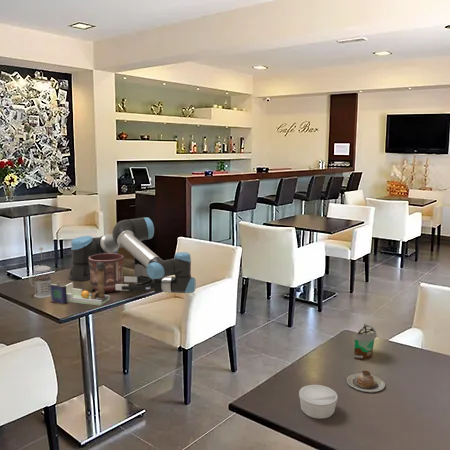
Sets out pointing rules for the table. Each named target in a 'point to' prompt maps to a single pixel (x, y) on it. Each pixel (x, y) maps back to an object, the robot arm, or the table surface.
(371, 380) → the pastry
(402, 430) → the table surface
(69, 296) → the pale green tray
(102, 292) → the kicker
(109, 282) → the pottery
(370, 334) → the food container
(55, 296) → the flask
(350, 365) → the table surface
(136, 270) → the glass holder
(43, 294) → the french press
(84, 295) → the ball
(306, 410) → the ramekin
